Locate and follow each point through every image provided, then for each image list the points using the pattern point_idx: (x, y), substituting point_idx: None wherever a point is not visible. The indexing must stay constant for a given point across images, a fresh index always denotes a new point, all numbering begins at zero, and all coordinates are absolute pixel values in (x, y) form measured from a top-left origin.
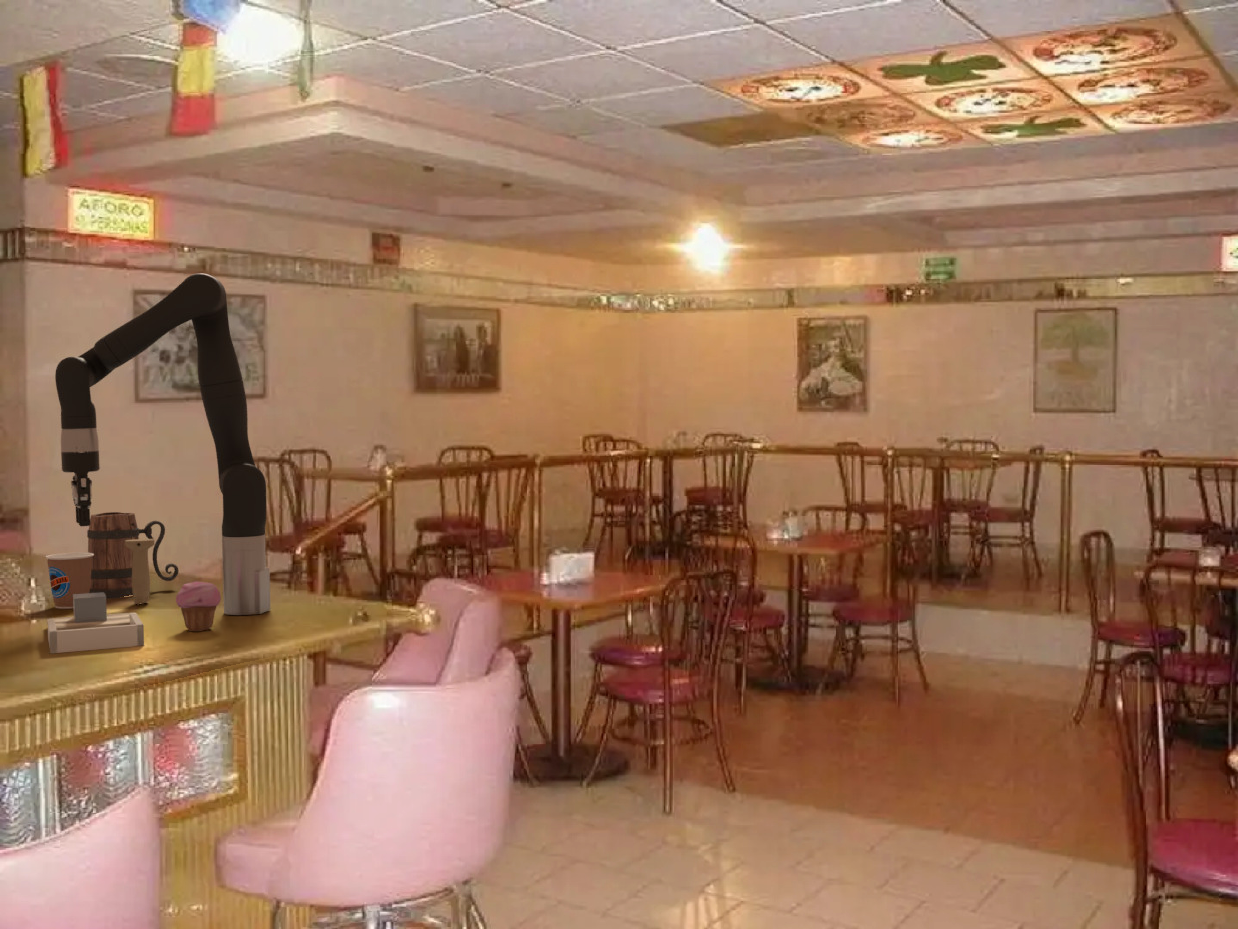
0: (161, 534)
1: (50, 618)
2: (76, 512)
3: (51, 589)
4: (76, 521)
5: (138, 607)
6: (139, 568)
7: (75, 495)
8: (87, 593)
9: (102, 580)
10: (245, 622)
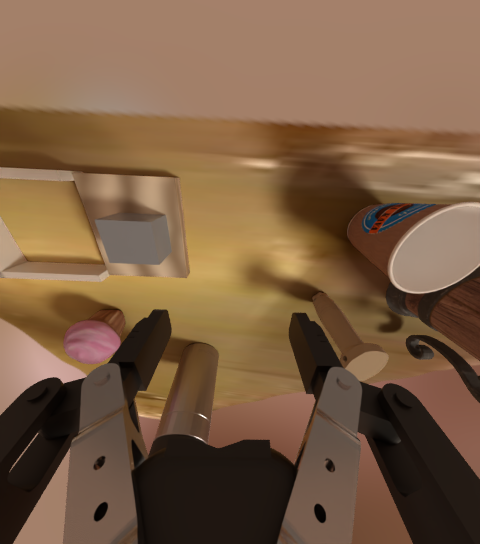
0: (475, 393)
1: (175, 182)
2: (305, 342)
3: (399, 203)
4: (295, 314)
5: (295, 292)
6: (330, 327)
7: (71, 453)
8: (153, 243)
9: None
10: None
